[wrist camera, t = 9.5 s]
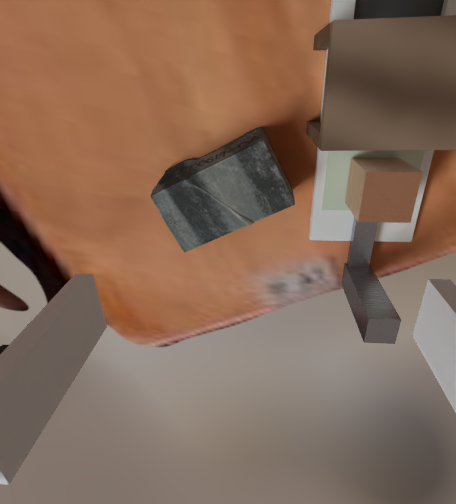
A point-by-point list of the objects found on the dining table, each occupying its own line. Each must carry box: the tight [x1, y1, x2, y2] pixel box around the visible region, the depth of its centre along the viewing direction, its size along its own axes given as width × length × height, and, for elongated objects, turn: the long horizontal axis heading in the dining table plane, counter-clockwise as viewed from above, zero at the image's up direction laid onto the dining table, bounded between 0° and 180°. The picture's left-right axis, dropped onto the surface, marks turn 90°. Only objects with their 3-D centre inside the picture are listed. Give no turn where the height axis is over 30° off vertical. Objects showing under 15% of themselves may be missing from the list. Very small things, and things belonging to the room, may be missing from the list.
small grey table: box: [307, 15, 456, 151], centre depth 30 cm, size 9×15×10 cm, turn 91°
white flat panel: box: [309, 0, 456, 242], centre depth 35 cm, size 27×12×1 cm, turn 1°
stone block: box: [151, 128, 295, 252], centre depth 38 cm, size 9×14×5 cm, turn 118°
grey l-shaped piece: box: [341, 158, 423, 344], centre depth 35 cm, size 16×5×11 cm, turn 1°
